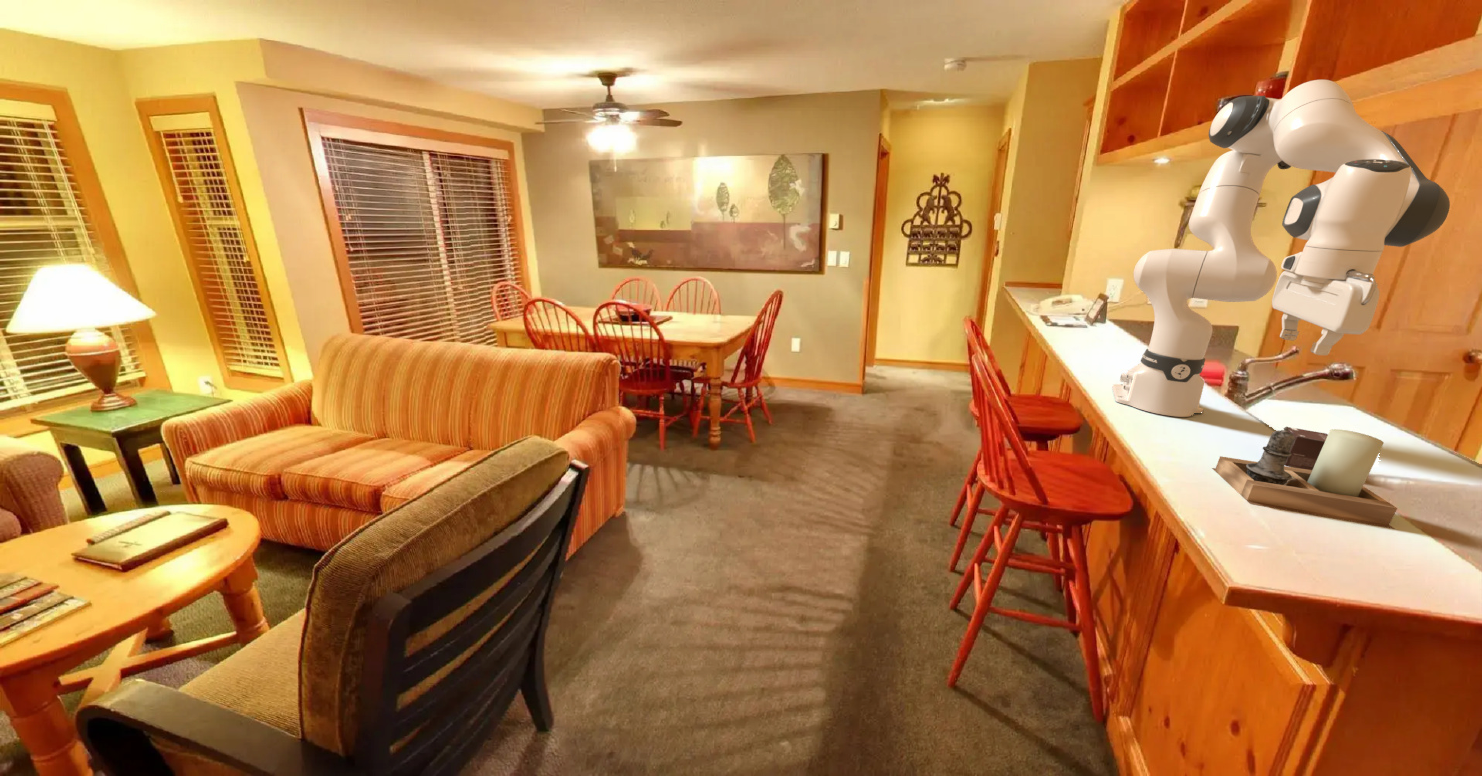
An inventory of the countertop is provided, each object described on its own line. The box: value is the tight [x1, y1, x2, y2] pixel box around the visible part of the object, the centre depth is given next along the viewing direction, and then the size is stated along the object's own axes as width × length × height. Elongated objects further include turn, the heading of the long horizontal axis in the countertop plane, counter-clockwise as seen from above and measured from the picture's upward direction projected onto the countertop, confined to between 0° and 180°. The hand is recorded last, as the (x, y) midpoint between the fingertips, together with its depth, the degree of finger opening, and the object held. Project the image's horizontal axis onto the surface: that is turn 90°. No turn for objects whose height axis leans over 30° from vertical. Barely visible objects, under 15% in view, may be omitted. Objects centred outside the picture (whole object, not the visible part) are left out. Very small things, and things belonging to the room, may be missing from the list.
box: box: [1284, 426, 1329, 470], centre depth 104 cm, size 6×6×7 cm
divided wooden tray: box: [1211, 456, 1398, 530], centre depth 92 cm, size 14×18×4 cm
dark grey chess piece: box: [1246, 426, 1295, 485], centre depth 92 cm, size 6×6×12 cm
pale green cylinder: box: [1307, 428, 1385, 497], centre depth 89 cm, size 6×6×12 cm
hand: (1302, 346), depth 93 cm, fingers open, 8 cm apart
